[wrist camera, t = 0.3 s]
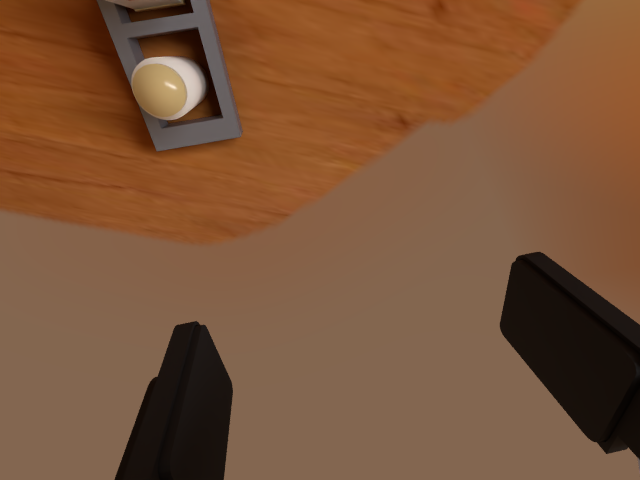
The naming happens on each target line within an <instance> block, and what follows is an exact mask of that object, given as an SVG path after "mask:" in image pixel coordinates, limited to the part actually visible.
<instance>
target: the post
mask: <svg viewBox="0 0 640 480" xmlns="http://www.w3.org/2000/svg"><path fill="white" fill-rule="evenodd" d="M131 85H132V91H133V94H134V96H135V98H136V100H137V102H138V103H139V105H140V106H141V107H142V108H143V109H144V110H145V111H146V112H147V113H149V114H150V115H152V116H154V117H156V118H159V119H163V120H174V119H178V118H180V117H182V116H183V115H185V114H186V113H187V112H189V111H190V110H191V109H193V108H194V107H195V106H197V105H198V104H199V103H201V102H202V101H203V100H204V99H205V97H206V96H207V94H208V90H209V81H208V77H207V74H206V72H205V70H204V69H203V67H202V66H201V65H200V64H199V63H198V62H197V61H195V60H194V59H192V58H189V57H186V56H169V57H153V58H148V59H145V60H143V61H141V62H140V63H139V64H138V65H137V66H136V67H135V69H134V71H133V74H132V78H131Z"/></svg>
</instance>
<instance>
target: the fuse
mask: <svg viewBox="0 0 640 480" xmlns="http://www.w3.org/2000/svg"><path fill="white" fill-rule="evenodd" d="M106 1H109V2H113V3H116V4H119V5H122V6H125V7H129V8H132V9H134V10H135V11H136V12H144V11H150V10H157V9H163V8H170V7H176V6H183V5H186V3H185V0H106Z"/></svg>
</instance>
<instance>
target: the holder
mask: <svg viewBox="0 0 640 480" xmlns="http://www.w3.org/2000/svg"><path fill="white" fill-rule="evenodd" d="M190 1H191V4H192V8H193V11H194V13H189V14H182V15H176V16H170V17H163V18H157V19H150V20H144V21H137V22H131V21H130V18H129V15H128V12H127V10H126V7H125V6H122V5H119V4H116V3H113V2H109V1H106V0H97V2H98V5H99V7H100V10H101V12H102V15H103V17H104V20H105V22H106V25H107V28H108V30H109V33H110V35H111V38H112V40H113V43H114V45H115V48H116V50H117V53H118V55H119V58H120V60H121V63H122V65H123V68H124V70H125V73H126V75H127V78H128V80H129V83H130V85H131V78H132V74H133V71H134V69H135V67H136V66H137V65H138V64H139V63H140V62H141V61H143V60H145V59H144V56H143V54H142V51H141V48H140V45H139V43H138V40H137V39H140V38H146V37H153V36H159V35H165V34H172V33H178V32H184V31H191V30H197V29H199V33H200V36H201V40H202V44H203V47H204V51H205V54H206V58H207V62H208V65H209V69H210V72H211V76H212V80H213V83H214V87H215V90H216V94H217V98H218V101H219V105H220V108H221V112H222V115H217V116H211V117H205V118H199V119H193V120H187V121H181V122H175V123H170V124H168V122H167V120H163V119H159V118H156V117H154V116H152V115H150V114H149V113H147V112H146V111H145V110H144V109H143V108H142V107H141V106H140V105H139V103H138V102H137V103H138V105H139V108H140V110H141V113H142V115H143V118H144V120H145V123H146V125H147V128H148V130H149V133H150V135H151V138H152V140H153V143H154V145H155V148H156V150H157V151H162V150H168V149H174V148H179V147H185V146H191V145H197V144H202V143H208V142H214V141H220V140H225V139H231V138H237V137H241V135H242V132H243V131H242V127H241V123H240V119H239V115H238V111H237V108H236V104H235V100H234V96H233V92H232V88H231V84H230V80H229V76H228V72H227V68H226V64H225V60H224V56H223V53H222V49H221V45H220V41H219V37H218V33H217V29H216V25H215V21H214V17H213V13H212V9H211V5H210V1H209V0H190ZM131 88H132V85H131Z"/></svg>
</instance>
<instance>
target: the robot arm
mask: <svg viewBox="0 0 640 480" xmlns="http://www.w3.org/2000/svg"><path fill="white" fill-rule="evenodd" d="M500 329H501V332H502V334H503V335H504V337H505V338H506V339H507V341H508V342H509V343H510V344H511V345H512V347H514V349H515V350H516V351H517V353H518V354H519V355H520V356H521V358H522V359H523V360H524V361H525V362H526V364H527V365H528V366H529V367H530V369H531V370H532V371H533V372H534V373H535V375H536V376H537V377H538V378H539V379H540V381H541V382H542V383H543V384H544V386H545V387H546V388H547V389H548V390H549V392H550V393H551V394H552V395H553V397H554V398H555V399H556V400H557V401H558V403H559V404H560V405H561V406H562V407H563V409H564V410H565V411H566V412H567V414H568V415H569V416H570V417H571V418H572V420H573V421H574V422H575V423H576V424H577V426H578V427H579V428H580V429H581V431H582V432H583V433H584V434H585V435H586V436H587V437H588V438H589V439H590V440H591V441H593V442H597V443H598V444H599V446H600V447H601V448H602V449H603V450H604V452H605V453H606V454H608V453H613V452H616V451H621V450H625V449H627V448H628V447H629V448H630V450H631V451H632V452H633V453H634V454H635V455H636V456H637V458H638V465H639V472H640V325H639V324H638V323H637V322H635V321H634V320H632V319H631V318H630V317H628V316H627V315H625V314H624V313H623V312H621V311H620V310H619V309H618V308H616V307H615V306H614V305H612V304H611V303H609V302H608V301H607V300H605V299H604V298H603V297H601V296H600V295H599V294H597V293H596V292H595V291H593V290H592V289H591V288H589V287H588V286H586V285H585V284H584V283H583V282H581V281H580V280H578V279H577V278H576V277H574V276H573V275H572V274H570V273H569V272H568V271H566V270H565V269H564V268H562V267H561V266H559V265H558V264H557V263H556V262H554V261H552V259H550V258H549V257H547V256H546V255H545V254H543V253H541V252H535V253H530V254H525V255H521V256H518V257H517V258H516V261H515V262H513V263H512V266H511V271H510V275H509V280H508V285H507V291H506V296H505V301H504V306H503V311H502V316H501V321H500ZM232 395H233V388H232V382H231V380H230V378H229V375H228V373H227V371H226V369H225V367H224V364H223V362H222V360H221V358H220V356H219V353H218V351H217V349H216V347H215V345H214V342H213V340H212V338H211V336H210V334H209V331H208V329H207V327H206V326H205V325H200V324H199V323H198V322H197V321H195V322H190V323H185V324H180V325H176V326H175V328H174V330H173V334H172V336H171V339H170V342H169V345H168V348H167V351H166V354H165V357H164V360H163V363H162V366H161V368H160V371H159V374H158V377H155V378H153V379H152V381H151V382H150V384H149V385H148V388H147V391H146V393H145V396H144V399H143V402H142V405H141V407H140V410H139V413H138V416H137V418H136V421H135V424H134V427H133V430H132V433H131V435H130V438H129V441H128V443H127V447H126V449H125V452H124V455H123V457H122V460H121V463H120V466H119V469H118V471H117V474H116V477H115V480H224V472H225V462H226V452H227V442H228V434H229V424H230V415H231V405H232Z"/></svg>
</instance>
